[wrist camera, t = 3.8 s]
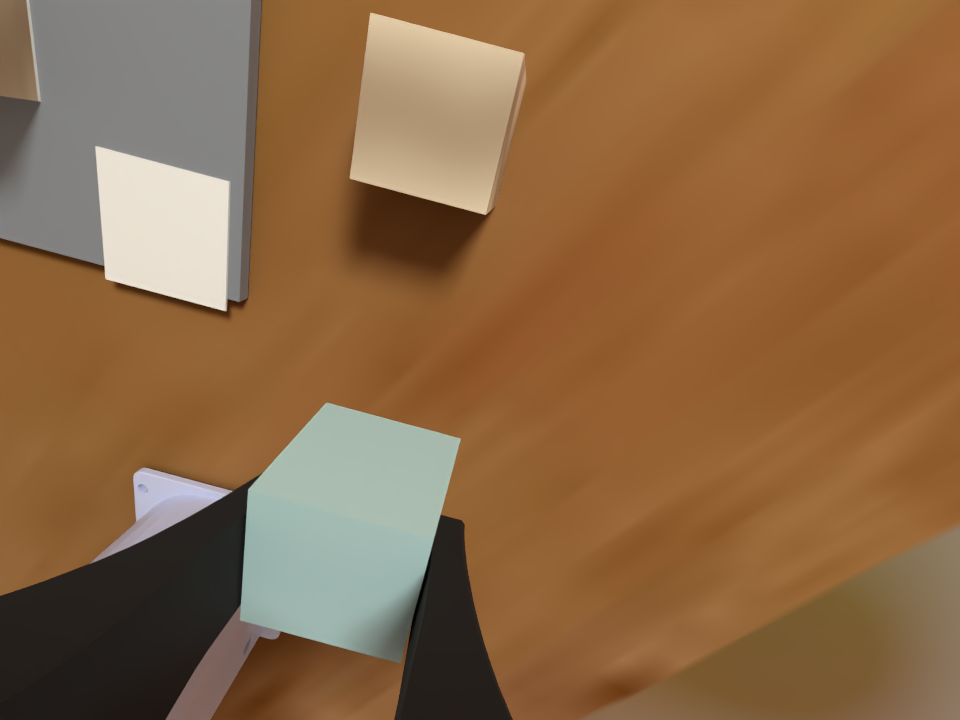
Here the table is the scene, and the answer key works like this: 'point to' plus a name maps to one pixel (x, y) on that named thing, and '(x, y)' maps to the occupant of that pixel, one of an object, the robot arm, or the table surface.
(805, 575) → the table surface
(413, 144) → the maple cube
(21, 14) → the oak cube
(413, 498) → the teal cube
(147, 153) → the slate board
